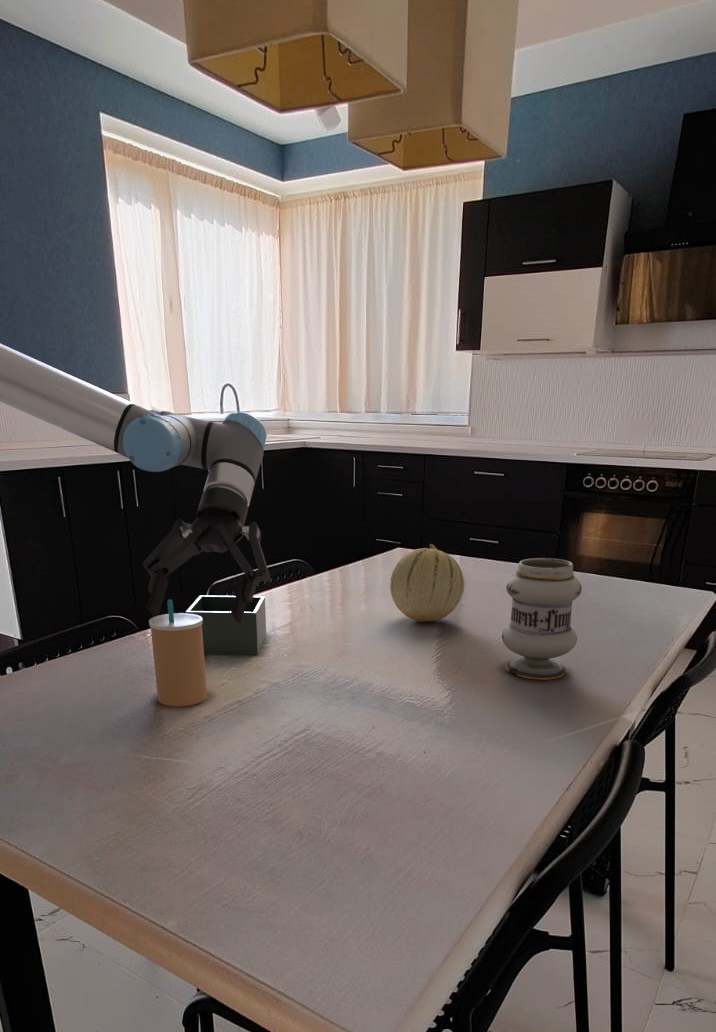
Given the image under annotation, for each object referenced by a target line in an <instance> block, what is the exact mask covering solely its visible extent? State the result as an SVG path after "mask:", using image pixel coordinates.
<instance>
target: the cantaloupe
mask: <svg viewBox="0 0 716 1032" xmlns="http://www.w3.org/2000/svg"><path fill="white" fill-rule="evenodd" d="M428 547H429V548H427V547H422V548H416V549H413V550H411V551H409V552H407V553H406V554H405V555H404V556H402V558H400V559H399V560H398V562H397V563H396V564H395V566H394V568H393V570H392V573H391V577H390V581H389V582H390V584H389V585H390V586H389V587H390V588H389V589H390V595H391V598H392V601H393V602H394V605H395V606H396V608H397V610H399V612H401V614H403V615H404V616H405V617H407V618H409V619H411V620H413V621H416V622H420V623H426V622H437V621H440V620H442V619H445V618H446V617H447V616H449V615H450V614H451V613H453V612H454V610H456V608H457V607H458V605H459V604H460V602H461V599H462V597H463V594H464V589H465V579H464V575H463V571H462V569H461V567H460V564H459V563H458V561H457V560H456V559H455V558H454V557H452V555H450V554H448V553H447V552H444V551H443V550H439V549H437V547H436V546H435V545H434V544H432V543H430V544H429V546H428Z"/></svg>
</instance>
